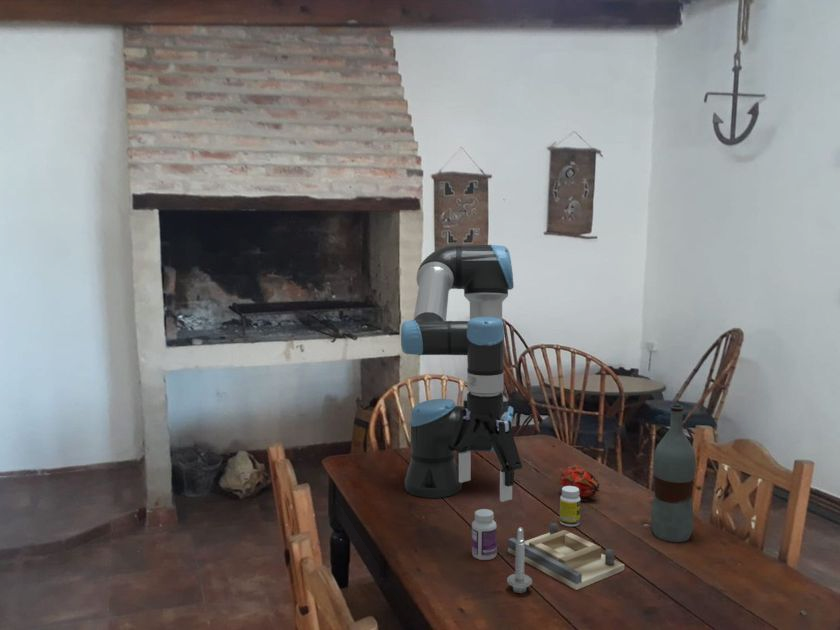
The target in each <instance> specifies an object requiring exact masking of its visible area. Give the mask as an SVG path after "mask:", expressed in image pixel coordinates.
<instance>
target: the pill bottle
mask: <svg viewBox="0 0 840 630" xmlns="http://www.w3.org/2000/svg"><path fill="white" fill-rule="evenodd" d="M494 514H495V513H494V512H493V510H491V509H487V508H481V509H477V510H476V511H474V520H473V521H472V523H471V554H472V557H473V558H475V559H476V560H479V561H489V560H493V559H495V558H496V556H497V555H498V554H497V553H498V543H497V542H498V541H497V540H498V536H497V535H498V527H497V525H498V524H497V522H496V521H495V520H494V517H495V516H494Z"/></svg>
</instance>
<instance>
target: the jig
mask: <svg viewBox="0 0 840 630" xmlns="http://www.w3.org/2000/svg"><path fill="white" fill-rule="evenodd" d="M516 539H517V538H514V537H510V538H508V539H507V553H509V554H510V555H512V556H514V557H516V555H515V554H516V552H515V551H516V550H515V548H516V547H515V545H516V544H515V543H516ZM524 541H525V543H524V544H525V546H524V547H525V549H524V550H525V552H524V553H525V555H524V556H525V557H524V559H525V560H524V562H525V563H527V564H529V565H530V566H532V567H534V568H536V569H537V570H539V571H541V572H542V573H545V574H546V575H548V576H550V577H551V578H554V579H556V580H557V581H559V582H561V583H563V584H564V585H566V586H568V587H569V588H572V589H573V590H576V591H578V590H581V589H582V588H585V587H587V586H589V585H592V584H594V583H597V582H599V581H602V580H604V579H607V578H609V577H611V576H613V575H617V574H618V573H621V572H623V571H625V564H624V563H622V562H620V561H618V560H616V559H615V550H614V549H612V548H607V549H605V552H604V553H605V554H603V553H602V549H603V548H602V547H601V546H599V545H597V544H595V543H593V542H591V541H589V540H587V539H585V538H582V537H580V536H578V535H577V534H574V533H572V532H570V531H568V530H566V529H562V530H560V531H559V524H558V523H556V522H551V523H550V524H549V532H547V533H544V534H541V535H538V536H536V537H533V538H530V539H527V540H524Z"/></svg>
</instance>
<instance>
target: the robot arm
mask: <svg viewBox="0 0 840 630" xmlns="http://www.w3.org/2000/svg"><path fill="white" fill-rule="evenodd" d="M512 265H513V264H512V260H511V255H510V251H509V249H508V247H506V246H505V245H496V244H469V245H468V244H465V245H464V244H461V245H458V244H454V245H453V244H452V245H446V246H443V247H441V248H439V249H437V250H434V251H433V252H431V253H430V254H429V255H427V257H425V258H424V260H422V262H421V263H420V265H419V267H418V269H417V274H416V284H417V286H418V289H417V296H416V302H415V307H414V308H415V309H414V314H413V319H412V320H405V321H403V322H402V324H401V331H400V345H401V350H402V353H404V354H405V355H417V356H467V359H466V360H467V368H466V369H467V370H466V371H467V373H466V374H467V378H466V379H467V380H466V381H467V382H466V383H467V386H466V387H467V389H466V390H467V391H468V393H467V395H466V396H465V397H463V400H462V401H463V404H462V405H460V406H459V405H457V404H456V402H455V401H454V399H451V398H434V399H428V400H425V401H421V402H419V403H417V404H416V405H414V406H413V407H412V408H411V412H410V422H409V426H410V461H409V465H408V469H407V472H406V476H405V477H404V490H405V489H406V490H405V491H406V492H407V493H408V492H409V493H408V494H410V495H412V496H416V497H419V498H427V499H435V498H437V499H440V498H446V497H451V496H454V495H456V494H458V493H459V492H461V490H462V485H463V484H462V483H465V482H470V481H471V480H472V479H471V476H472V475H471V466H472V465H471V462H472V461H471V458H472V457H471V452H488V453H493V452H494V453H495V455H496V457H497V459H498V461H499V463H500V465H501V468H502V469H500V470H499V502H502V503H503V502H508V501H511V500H513V486H514V485H515V471H516V470H520V469H522V468H523V464H522V461H521V458H520V455H519V454H520V453H519V452H518V448H517V444H516V442H515V438H514V433H513V420H514V407H512V406H511V405H509V400H508V398H507V397H506V396H505V395H504V394H503V391H504V386H505V385H504V383H505V382H504V381H505V380H504V354H505V353H504V351H505V349H504V347H505V345H504V344H505V343H504V341H505V340H504V339H505V330H504V322H503V302H504V301H505V300H506V298H508V296H509V291H510V290H513V289H514V287H515V286H514V284H515V283H514V274H513V273H514V272H513V266H512ZM452 289H453V290H463V296H464V297H465V299H466V300H467V301H468V302H469V320H447V314H448V302H449V292H450V290H452ZM456 453H457V462H456Z"/></svg>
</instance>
